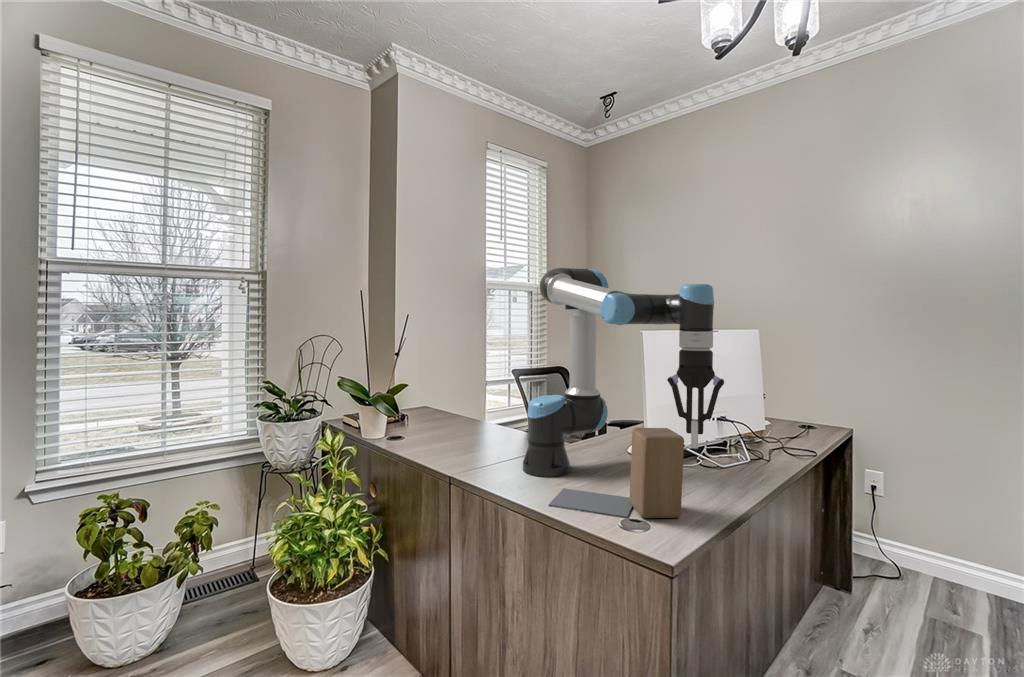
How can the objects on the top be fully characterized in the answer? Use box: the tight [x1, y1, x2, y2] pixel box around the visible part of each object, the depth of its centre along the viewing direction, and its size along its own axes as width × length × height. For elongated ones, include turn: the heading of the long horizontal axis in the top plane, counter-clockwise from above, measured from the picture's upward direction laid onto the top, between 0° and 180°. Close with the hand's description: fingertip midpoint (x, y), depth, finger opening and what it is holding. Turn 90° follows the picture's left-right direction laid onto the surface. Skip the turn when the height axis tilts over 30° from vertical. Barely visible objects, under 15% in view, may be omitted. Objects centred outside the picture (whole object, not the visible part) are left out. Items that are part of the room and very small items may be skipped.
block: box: [629, 427, 685, 519], centre depth 119 cm, size 10×10×20 cm
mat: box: [548, 487, 634, 519], centre depth 125 cm, size 20×13×1 cm, turn 67°
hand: (694, 447), depth 115 cm, fingers closed
